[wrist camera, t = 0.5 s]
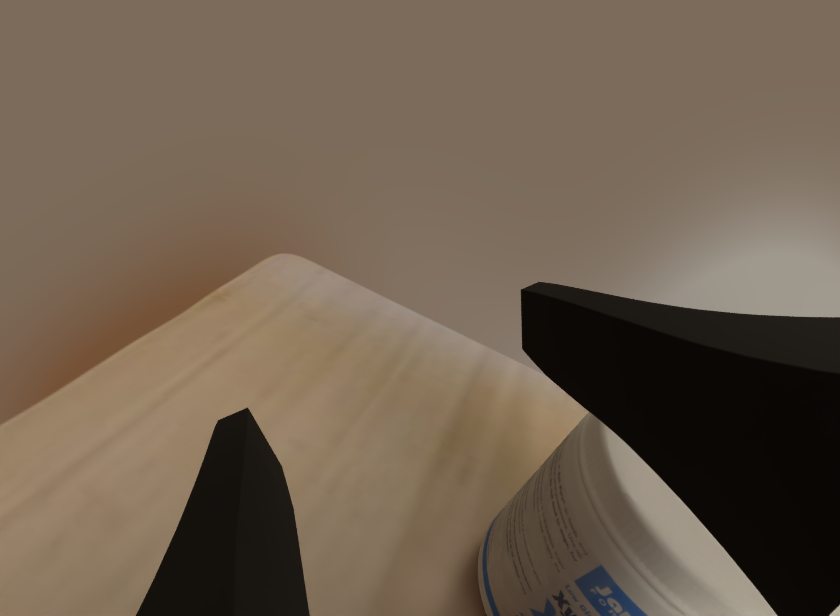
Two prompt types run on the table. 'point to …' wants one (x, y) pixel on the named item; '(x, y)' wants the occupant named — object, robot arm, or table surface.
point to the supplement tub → (606, 542)
